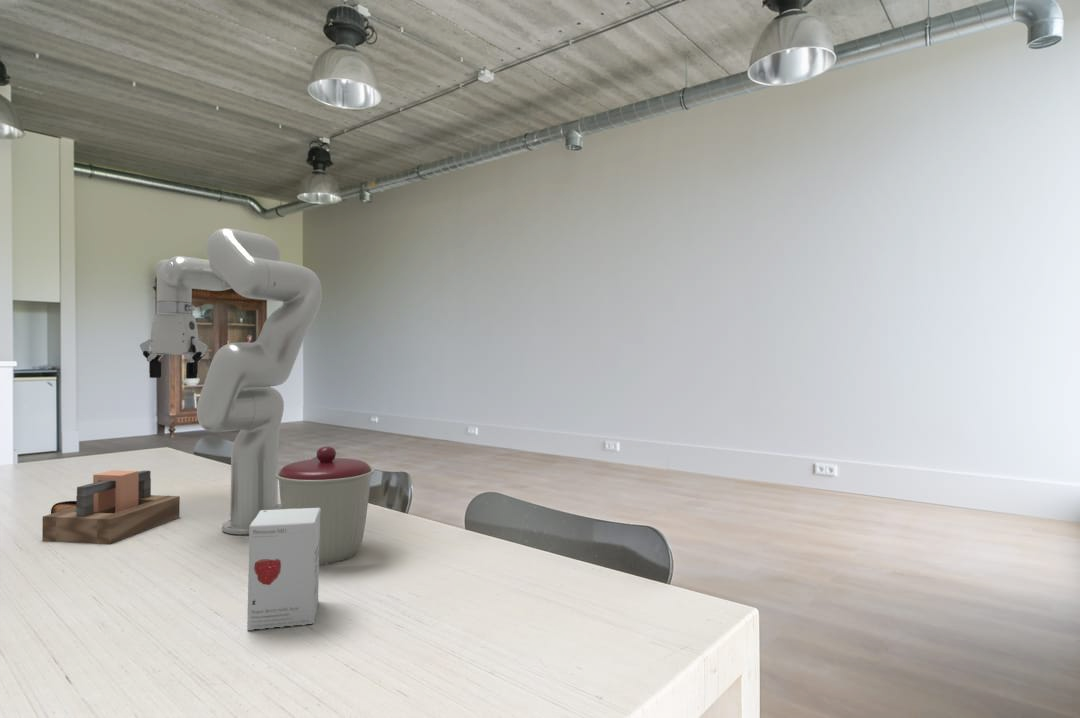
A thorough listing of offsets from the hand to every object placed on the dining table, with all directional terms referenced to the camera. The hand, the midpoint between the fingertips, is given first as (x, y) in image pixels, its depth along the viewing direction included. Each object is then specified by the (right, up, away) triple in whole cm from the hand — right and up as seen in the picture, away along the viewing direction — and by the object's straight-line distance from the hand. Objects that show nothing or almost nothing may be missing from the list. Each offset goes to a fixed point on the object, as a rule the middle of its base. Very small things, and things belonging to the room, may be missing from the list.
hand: (173, 378), depth 150 cm
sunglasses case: (-13, -33, -8) cm, 36 cm away
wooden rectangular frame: (-1, -32, -19) cm, 37 cm away
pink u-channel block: (-1, -28, -19) cm, 34 cm away
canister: (+51, -33, -35) cm, 70 cm away
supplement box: (+54, -34, -61) cm, 88 cm away
